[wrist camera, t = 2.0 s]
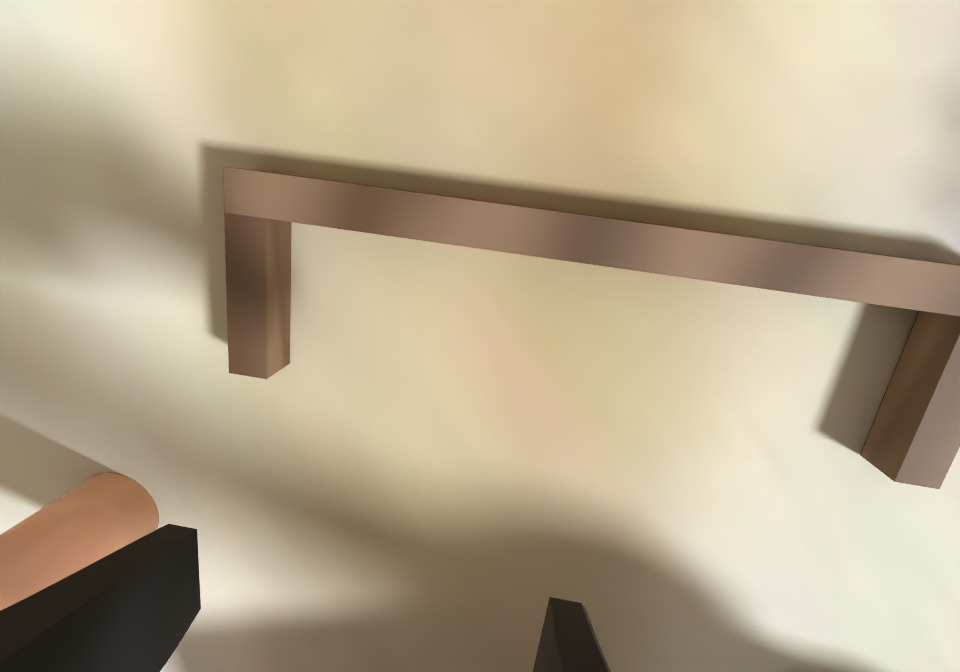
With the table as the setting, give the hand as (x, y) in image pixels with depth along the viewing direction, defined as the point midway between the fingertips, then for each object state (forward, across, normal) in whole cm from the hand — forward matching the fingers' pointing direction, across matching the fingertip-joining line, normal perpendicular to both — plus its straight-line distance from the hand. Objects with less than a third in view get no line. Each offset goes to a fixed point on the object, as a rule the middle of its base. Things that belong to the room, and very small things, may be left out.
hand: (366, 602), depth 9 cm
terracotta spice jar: (+10, +15, +9) cm, 20 cm away
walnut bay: (+10, -5, -3) cm, 12 cm away
